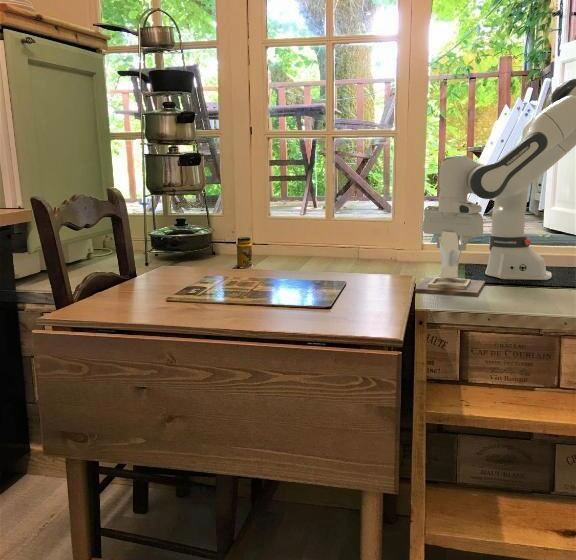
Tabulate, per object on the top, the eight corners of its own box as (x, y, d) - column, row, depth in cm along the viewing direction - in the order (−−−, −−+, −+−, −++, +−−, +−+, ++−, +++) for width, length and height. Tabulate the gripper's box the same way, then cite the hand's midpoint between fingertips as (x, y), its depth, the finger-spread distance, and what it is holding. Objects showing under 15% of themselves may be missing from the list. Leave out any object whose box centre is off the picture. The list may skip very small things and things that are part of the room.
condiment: (252, 268, 248) (251, 238, 246) (230, 268, 249) (229, 238, 247) (254, 265, 256) (253, 236, 253) (233, 265, 256) (232, 236, 254)
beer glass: (446, 279, 198) (449, 232, 196) (433, 276, 205) (436, 230, 203) (464, 278, 201) (467, 232, 199) (451, 275, 207) (454, 230, 205)
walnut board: (484, 284, 209) (485, 277, 209) (477, 296, 191) (477, 289, 191) (425, 280, 217) (425, 274, 217) (412, 292, 199) (412, 285, 199)
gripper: (419, 205, 204) (418, 247, 207) (476, 208, 190) (474, 253, 193) (429, 204, 208) (428, 245, 211) (486, 207, 194) (484, 250, 197)
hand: (451, 249), depth 202 cm, fingers closed on beer glass, 7 cm apart
